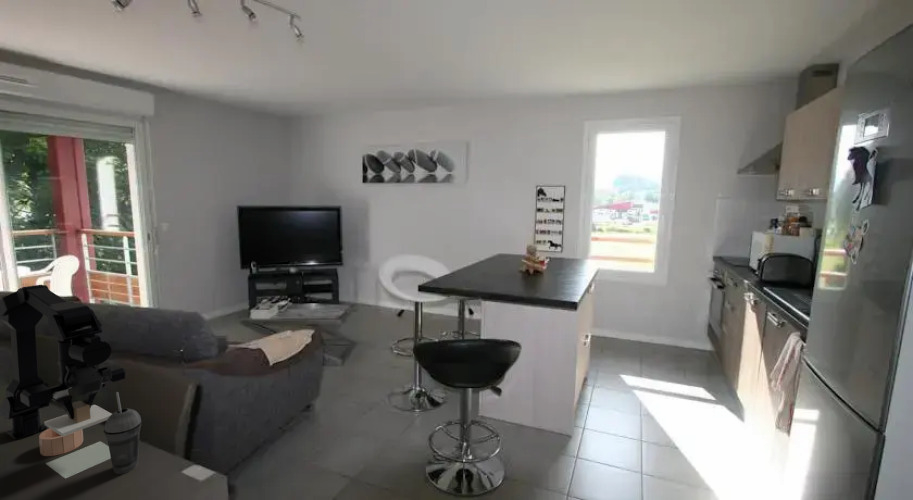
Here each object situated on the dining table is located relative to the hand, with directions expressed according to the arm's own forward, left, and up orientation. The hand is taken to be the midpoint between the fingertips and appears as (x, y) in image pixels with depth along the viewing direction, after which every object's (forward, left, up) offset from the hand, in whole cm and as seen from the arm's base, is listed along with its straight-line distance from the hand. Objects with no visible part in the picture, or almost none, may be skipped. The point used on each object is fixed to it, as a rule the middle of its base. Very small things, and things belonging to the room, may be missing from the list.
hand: (79, 416), depth 102 cm
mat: (+1, 0, -12) cm, 12 cm away
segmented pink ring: (-10, 0, -12) cm, 16 cm away
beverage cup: (+14, +3, -12) cm, 19 cm away
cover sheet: (0, 0, -1) cm, 1 cm away
